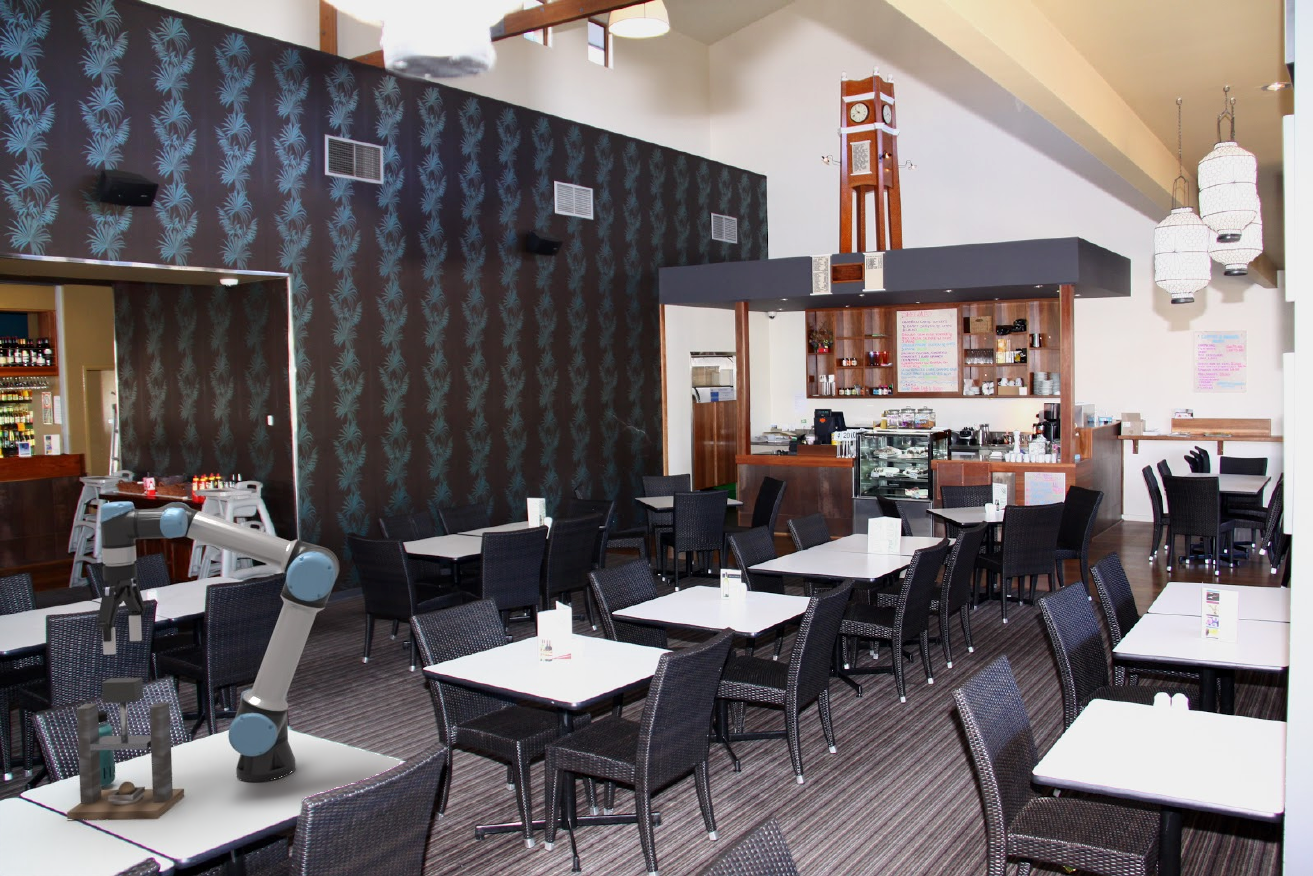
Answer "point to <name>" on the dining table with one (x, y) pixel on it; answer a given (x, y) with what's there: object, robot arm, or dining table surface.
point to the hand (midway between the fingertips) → (123, 647)
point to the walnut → (126, 788)
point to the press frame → (110, 801)
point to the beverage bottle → (106, 752)
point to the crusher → (122, 714)
